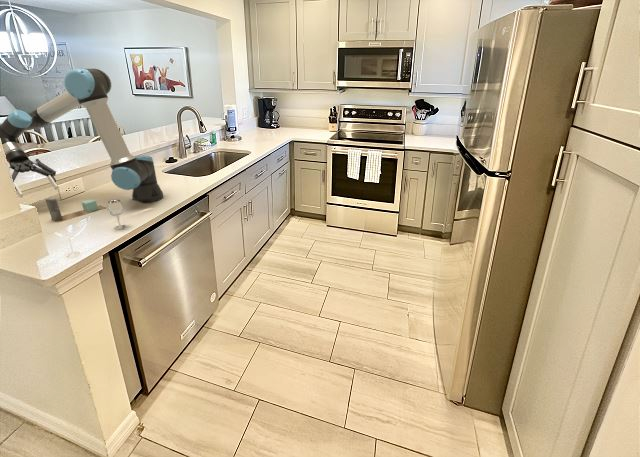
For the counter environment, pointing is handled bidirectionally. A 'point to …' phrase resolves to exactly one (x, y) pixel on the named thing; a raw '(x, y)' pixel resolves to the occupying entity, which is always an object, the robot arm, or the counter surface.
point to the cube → (89, 205)
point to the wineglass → (116, 210)
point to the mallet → (57, 216)
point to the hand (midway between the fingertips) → (39, 191)
